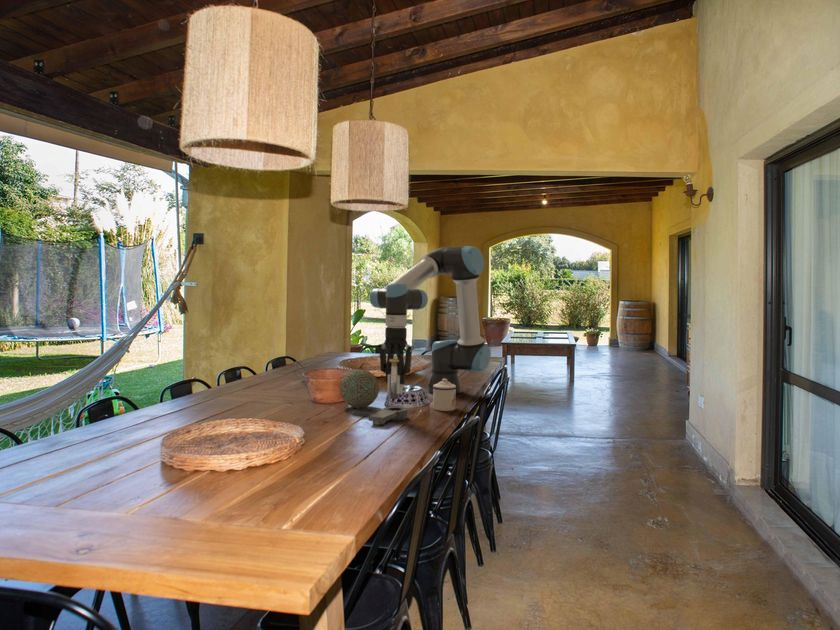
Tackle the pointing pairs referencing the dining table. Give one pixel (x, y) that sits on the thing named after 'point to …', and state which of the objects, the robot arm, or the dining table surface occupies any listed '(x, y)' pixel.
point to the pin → (394, 378)
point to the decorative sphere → (359, 388)
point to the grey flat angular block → (382, 414)
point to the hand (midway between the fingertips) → (394, 392)
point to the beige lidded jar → (444, 396)
